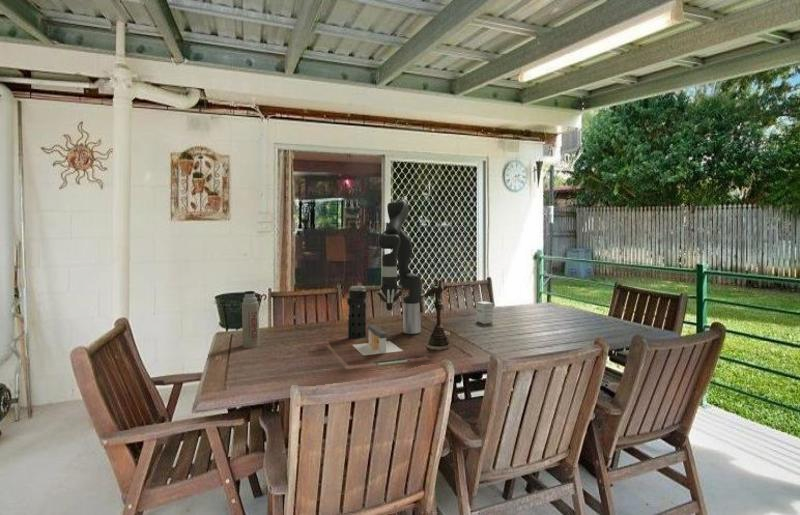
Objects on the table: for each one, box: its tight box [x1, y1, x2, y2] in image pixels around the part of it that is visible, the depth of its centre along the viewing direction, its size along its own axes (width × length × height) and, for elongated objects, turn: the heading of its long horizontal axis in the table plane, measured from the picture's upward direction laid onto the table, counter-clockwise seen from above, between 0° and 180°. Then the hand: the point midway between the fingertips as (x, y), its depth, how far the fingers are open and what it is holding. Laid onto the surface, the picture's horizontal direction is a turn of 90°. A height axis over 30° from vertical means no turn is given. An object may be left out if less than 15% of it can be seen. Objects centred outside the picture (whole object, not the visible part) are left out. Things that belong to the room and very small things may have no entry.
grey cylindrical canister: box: [476, 301, 494, 325], centre depth 288 cm, size 7×7×13 cm
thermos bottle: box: [241, 290, 260, 349], centre depth 234 cm, size 8×8×28 cm
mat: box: [374, 358, 408, 367], centre depth 210 cm, size 14×10×1 cm
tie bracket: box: [352, 329, 404, 356], centre depth 226 cm, size 20×19×8 cm
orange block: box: [371, 333, 379, 349], centre depth 224 cm, size 4×8×7 cm, turn 21°
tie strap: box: [367, 324, 388, 339], centre depth 225 cm, size 3×19×2 cm, turn 22°
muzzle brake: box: [346, 285, 368, 340], centre depth 250 cm, size 10×28×10 cm
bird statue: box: [420, 279, 451, 351], centre depth 234 cm, size 17×13×35 cm
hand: (389, 310), depth 227 cm, fingers closed
